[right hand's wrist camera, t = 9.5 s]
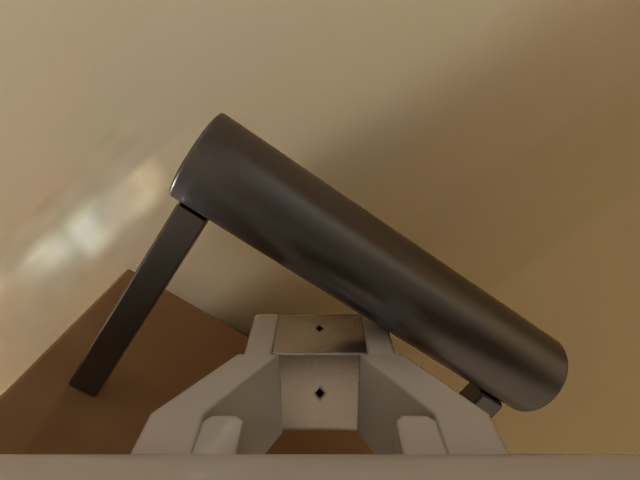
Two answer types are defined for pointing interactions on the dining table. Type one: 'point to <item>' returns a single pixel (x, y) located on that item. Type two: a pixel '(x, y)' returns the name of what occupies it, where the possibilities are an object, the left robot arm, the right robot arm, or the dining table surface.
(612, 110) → the dining table surface
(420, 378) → the right robot arm
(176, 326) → the drawer
